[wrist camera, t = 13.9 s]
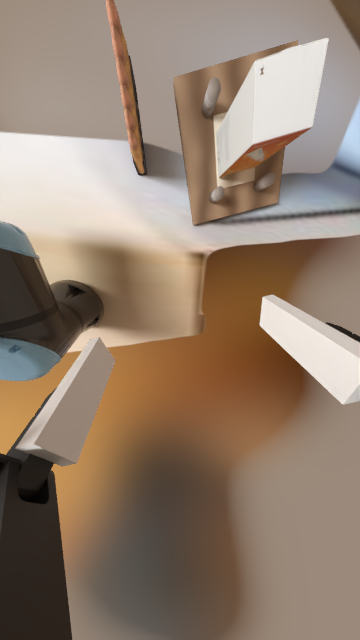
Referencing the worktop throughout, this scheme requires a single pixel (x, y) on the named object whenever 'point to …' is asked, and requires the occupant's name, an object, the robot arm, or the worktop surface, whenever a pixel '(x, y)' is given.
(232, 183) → the stub base plate
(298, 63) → the small box
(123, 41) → the ammunition clip
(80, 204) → the worktop surface
